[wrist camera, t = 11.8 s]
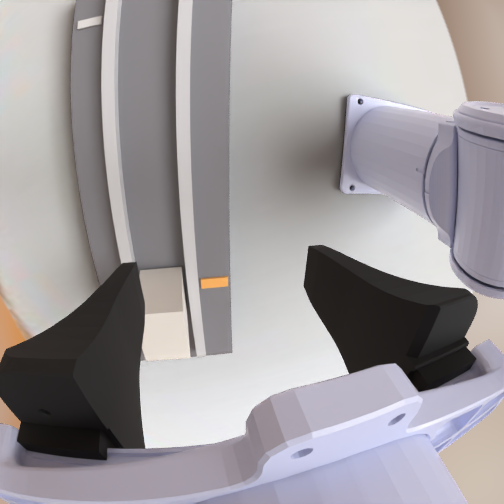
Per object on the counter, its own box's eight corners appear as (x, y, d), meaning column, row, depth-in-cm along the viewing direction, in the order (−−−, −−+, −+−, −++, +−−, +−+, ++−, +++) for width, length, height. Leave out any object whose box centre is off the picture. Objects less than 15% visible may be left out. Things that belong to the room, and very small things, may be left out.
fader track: (228, -17, 14) (235, -33, 11) (228, 337, 28) (234, 360, 25) (86, -2, 12) (73, -15, 9) (127, 346, 26) (124, 369, 23)
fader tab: (181, 266, 21) (182, 311, 17) (186, 310, 23) (190, 357, 18) (140, 270, 20) (132, 315, 16) (149, 313, 22) (146, 360, 18)
